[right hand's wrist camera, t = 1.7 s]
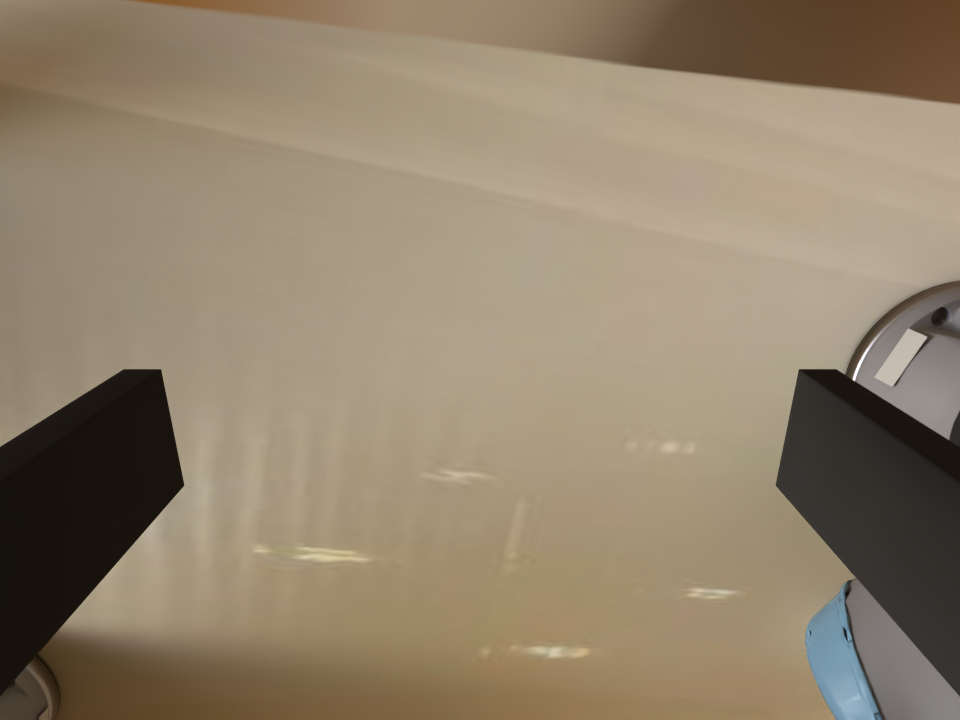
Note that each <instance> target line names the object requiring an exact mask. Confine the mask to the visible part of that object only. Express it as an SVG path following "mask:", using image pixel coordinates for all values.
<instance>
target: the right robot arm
mask: <svg viewBox="0 0 960 720" xmlns="http://www.w3.org/2000/svg"><path fill="white" fill-rule="evenodd" d="M183 486H184V482H183V477H182V472H181V467H180V462H179V457H178V452H177V447H176V442H175V437H174V432H173V427H172V422H171V417H170V412H169V407H168V402H167V397H166V392H165V387H164V382H163V377H162V372H161V369H124V370H122V371H120V372H119V373H117V374H116V375H114V376H113V377H111V378H109V379H108V380H106V381H105V382H103V383H101V384H100V385H98V386H97V387H95V388H93V389H92V390H90V391H89V392H87V393H85V394H84V395H82V396H81V397H79V398H77V399H76V400H74V401H73V402H71V403H69V404H68V405H66V406H65V407H63V408H62V409H60V410H58V411H57V412H55V413H54V414H52V415H50V416H49V417H47V418H46V419H44V420H42V421H41V422H39V423H38V424H36V425H34V426H33V427H31V428H30V429H28V430H26V431H25V432H23V433H22V434H20V435H18V436H17V437H15V438H14V439H12V440H11V441H9V442H7V443H6V444H4V445H3V446H1V447H0V696H1V695H2V694H3V693H4V692H5V691H6V689H7V688H8V687H9V686H10V685H11V684H12V683H13V681H14V680H15V679H16V678H17V677H18V676H19V675H20V673H21V672H22V671H23V670H24V669H25V668H26V666H27V665H28V664H29V663H30V662H31V661H32V660H33V658H34V657H35V656H36V655H37V654H38V653H39V652H40V650H41V649H42V648H43V647H44V646H45V645H46V644H47V642H48V641H49V640H50V639H51V638H52V637H53V635H54V634H55V633H56V632H57V631H58V630H59V629H60V627H61V626H62V625H63V624H64V623H65V622H66V621H67V619H68V618H69V617H70V616H71V615H72V614H73V613H74V611H75V610H76V609H77V608H78V607H79V606H80V604H81V603H82V602H83V601H84V600H85V599H86V598H87V596H88V595H89V594H90V593H91V592H92V591H93V590H94V588H95V587H96V586H97V585H98V584H99V583H100V582H101V580H102V579H103V578H104V577H105V576H106V575H107V574H108V572H109V571H110V570H111V569H112V568H113V567H114V565H115V564H116V563H117V562H118V561H119V560H120V559H121V557H122V556H123V555H124V554H125V553H126V552H127V551H128V549H129V548H130V547H131V546H132V545H133V544H134V543H135V541H136V540H137V539H138V538H139V537H140V536H141V534H142V533H143V532H144V531H145V530H146V529H147V528H148V526H149V525H150V524H151V523H152V522H153V521H154V520H155V518H156V517H157V516H158V515H159V514H160V513H161V512H162V510H163V509H164V508H165V507H166V506H167V505H168V503H169V502H170V501H171V500H172V499H173V498H174V497H175V495H176V494H177V493H178V492H179V491H180V490H181V489H182V487H183ZM776 486H777V487H778V489H779V490H780V491H781V492H782V493H783V494H784V495H785V497H786V498H787V499H788V500H789V501H790V502H791V503H792V505H793V506H794V507H795V508H796V509H797V510H798V512H799V513H800V514H801V515H802V516H803V517H804V518H805V520H806V521H807V522H808V523H809V524H810V525H811V526H812V528H813V529H814V530H815V531H816V532H817V533H818V534H819V536H820V537H821V538H822V539H823V540H824V541H825V542H826V544H827V545H828V546H829V547H830V548H831V549H832V551H833V552H834V553H835V554H836V555H837V556H838V557H839V559H840V560H841V561H842V562H843V563H844V564H845V565H846V567H847V568H848V569H849V570H850V571H851V572H852V573H853V575H854V576H855V577H856V578H855V579H853V580H849V581H847V582H846V583H844V584H843V586H842V587H841V589H840V591H839V594H838V595H837V596H836V597H834V598H833V599H832V600H831V601H830V602H829V603H828V604H827V605H826V606H824V607H823V608H822V609H821V610H820V611H819V612H818V613H817V614H816V615H814V617H813V618H812V619H811V620H810V622H809V624H808V626H807V629H806V639H805V644H806V648H807V650H806V651H807V658H808V661H809V664H810V668H811V670H812V673H813V676H814V678H815V680H816V683H817V685H818V687H819V689H820V691H821V693H822V695H823V697H824V699H825V701H826V703H827V705H828V707H829V708H830V710H831V712H832V714H833V715H834V717H835V719H836V720H960V281H957V282H951V283H946V284H942V285H938V286H935V287H932V288H929V289H927V290H924V291H922V292H920V293H918V294H916V295H914V296H912V297H910V298H908V299H906V300H905V301H903V302H902V303H900V304H899V305H897V306H896V307H894V308H893V309H892V310H890V311H889V312H888V313H887V314H885V315H884V316H883V317H882V318H881V319H880V320H879V321H878V322H877V323H876V324H875V325H874V326H873V327H872V328H871V329H870V331H869V332H868V333H867V334H866V336H865V337H864V338H863V340H862V341H861V343H860V344H859V346H858V347H857V349H856V351H855V353H854V355H853V356H852V359H851V361H850V363H849V366H848V369H847V372H846V375H844V374H843V373H841V372H840V371H838V370H836V369H799V372H798V377H797V382H796V387H795V392H794V397H793V402H792V407H791V412H790V417H789V422H788V427H787V432H786V437H785V442H784V447H783V452H782V457H781V462H780V467H779V472H778V477H777V482H776Z"/></svg>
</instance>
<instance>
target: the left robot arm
mask: <svg viewBox="0 0 960 720" xmlns="http://www.w3.org/2000/svg"><path fill="white" fill-rule="evenodd" d="M58 706H59V694H58V689H57V686H56V683H55V681H54V678H53V677H52V675H51V673H50V672H49V670H48V669H47V668H46V666H45V665H44V664H43V663H42V662H41V660H39V659H38V658H37V657H36V656H35V657H34V658H33V660H32V661H31V662H30V663H29V664H28V665H27V666H26V668H25V669H24V670H23V671H22V672H21V673H20V675H19V676H18V677H17V678H16V679H15V680H14V681H13V683H12V684H11V685H10V686H9V687H8V688H7V689H6V691H5V692H4V693H3V694H2V695H1V696H0V720H53V719H54V717H55V715H56V713H57V710H58Z"/></svg>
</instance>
